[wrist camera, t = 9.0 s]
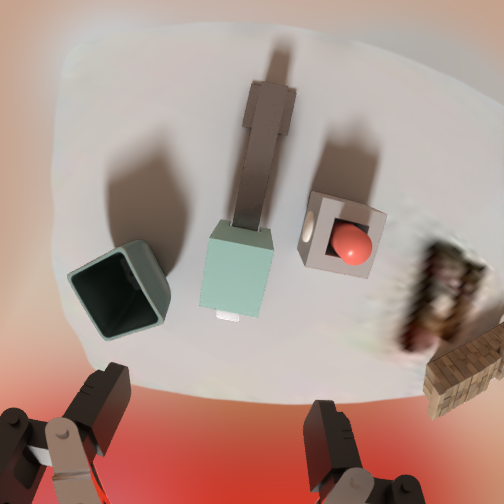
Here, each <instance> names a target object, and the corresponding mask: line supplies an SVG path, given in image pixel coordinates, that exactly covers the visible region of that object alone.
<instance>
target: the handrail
mask: <svg viewBox="0 0 504 504" xmlns="http://www.w3.org/2000/svg"><path fill="white" fill-rule="evenodd" d="M287 89H288V86H283V85H279V84H274V83H269V82H264V81H262V83H261V86H259V85H253V84H251V88H250V92H249V97H248V101H247V106H246V110H245V115H244V119H243V124H242V126H243V127H249V128H252V129H251V134H250V138H249V143H248V148H247V153H246V158H245V163H244V168H243V172H242V177H241V182H240V188H239V193H238V198H237V203H236V208H235V213H234V218H233V224H232V226H233V227H238V228H243V229H248V230H253V231H257V230H258V226H259V221H260V216H261V211H262V207H263V202H264V197H265V193H266V188H267V183H268V179H269V174H270V169H271V164H272V160H273V155H274V150H275V146H276V141H277V136H278V134H283V135H288V131H289V126H290V121H291V116H292V112H293V107H294V102H295V97H296V93H293V92H288V91H287ZM239 315H240V314H236V313H230V312H225V311H220V310H217V313H216V318H220V319H225V320H230V321H236V322H238V319H239Z"/></svg>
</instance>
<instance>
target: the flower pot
mask: <svg viewBox="0 0 504 504" xmlns="http://www.w3.org/2000/svg"><path fill="white" fill-rule="evenodd" d="M131 272H133V274H134V275H131ZM67 279H68V281H69V283H70V285H71V287H72V289H73V290H74V292H75V294H76V295H77V297H78V299H79V301H80V303H81V304H82V306H83V308H84V309H85V311H86V313H87V314H88V316H89V318H90V319H91V321H92V323H93V324H94V326H95V327H96V329H97V331H98V332H99V334H100V335H101V337H102V338H103V339H104V340H105V341H111V340H114V339H117V338H120V337H123V336H126V335H130V334H133V333H136V332H139V331H143V330H146V329H149V328H152V327H156V326H159V325H161V324H163V323H164V320H165V317H166V314H167V310H168V307H169V304H170V300H171V291H170V287H169V284H168V282H167V280H166V277H165V275H164V274H163V272H162V270H161V268H160V266H159V264H158V262H157V260H156V258H155V256H154V254H153V252H152V250H151V248H150V246H149V245H148V243H147V242H146V241H144V240H134V241H131V242H129V243H126V244H124V245H121V246H119V247H117V248H115V249H113V250H112V251H110V252H108V253H106V254H104V255H102V256H100V257H99V258H97V259H95V260H93V261H91V262H89V263H87V264H86V265H84V266H82V267H80V268H78V269H76V270H74V271H72V272H71V273H69V274H68V275H67Z"/></svg>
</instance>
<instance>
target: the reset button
mask: <svg viewBox="0 0 504 504" xmlns="http://www.w3.org/2000/svg"><path fill="white" fill-rule="evenodd" d="M329 243H330V245H331V246H332V247H333V249H334V250H335V251H336V252H337V254H338V255H339V256H340V257H341V258H342V260H343V261H344V262H345V263H347V264H349V265H360V264H362V263H364V262H365V261H366V260H367V259H368V258H369V257H370V255H371V252H372V241H371V239H370V237H369V236H368V235H367V234H366V233H364V232H363V231H362V230H360V229H359V228H357V227H356V226H355V225H353V224H352V223H350V222H348V221H339V222H337V223H335V224H334V225H333V226H332V230H331V234H330V238H329Z"/></svg>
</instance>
